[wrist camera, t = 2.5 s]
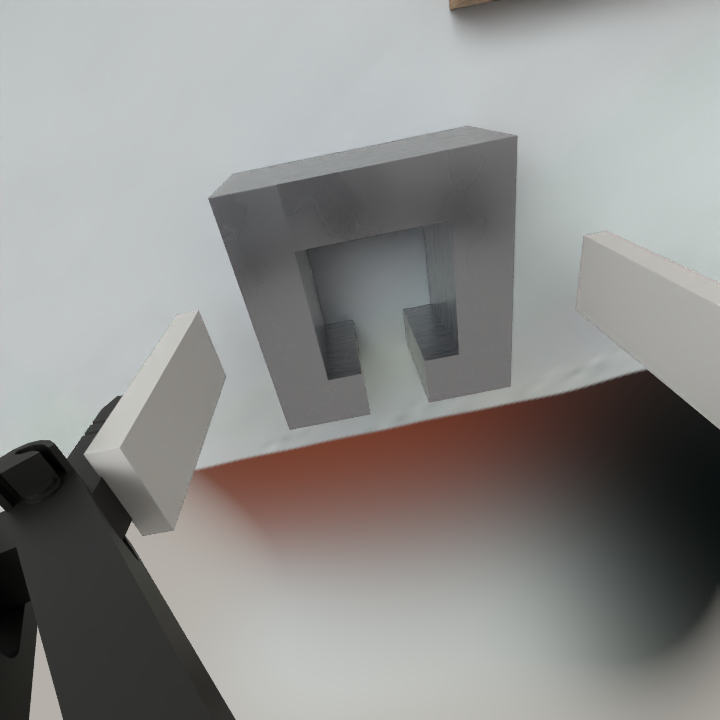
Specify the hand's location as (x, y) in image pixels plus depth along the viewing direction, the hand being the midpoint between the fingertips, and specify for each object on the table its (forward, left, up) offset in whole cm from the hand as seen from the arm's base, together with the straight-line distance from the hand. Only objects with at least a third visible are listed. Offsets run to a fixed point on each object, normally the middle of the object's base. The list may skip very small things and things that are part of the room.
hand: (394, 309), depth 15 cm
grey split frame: (0, 0, -4) cm, 4 cm away
